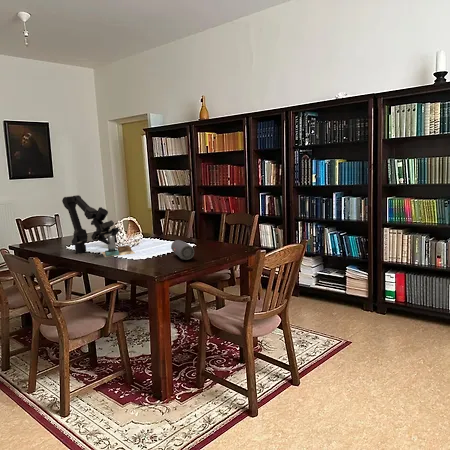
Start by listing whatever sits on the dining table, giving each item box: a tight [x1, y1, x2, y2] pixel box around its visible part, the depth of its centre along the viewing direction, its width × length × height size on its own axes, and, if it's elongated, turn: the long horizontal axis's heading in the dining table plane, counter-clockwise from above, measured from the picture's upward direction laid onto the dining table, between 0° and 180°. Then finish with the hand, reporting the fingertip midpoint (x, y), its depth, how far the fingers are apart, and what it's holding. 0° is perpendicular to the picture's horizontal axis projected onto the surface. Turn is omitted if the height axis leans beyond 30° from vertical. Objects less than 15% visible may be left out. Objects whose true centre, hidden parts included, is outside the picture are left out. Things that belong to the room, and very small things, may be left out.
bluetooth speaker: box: [170, 239, 195, 261], centre depth 258 cm, size 23×9×10 cm, turn 21°
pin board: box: [101, 245, 136, 258], centre depth 279 cm, size 19×18×4 cm
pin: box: [106, 235, 116, 252], centre depth 273 cm, size 4×4×12 cm
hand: (112, 243), depth 271 cm, fingers open, 6 cm apart
